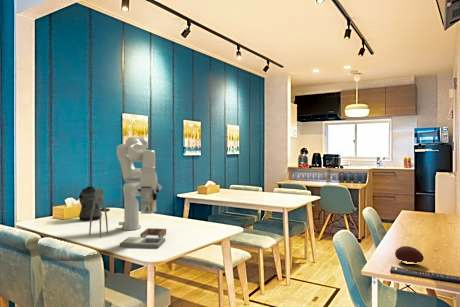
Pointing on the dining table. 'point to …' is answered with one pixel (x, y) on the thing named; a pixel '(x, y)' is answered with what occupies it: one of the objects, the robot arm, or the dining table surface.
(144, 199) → the coffee box
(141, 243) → the board
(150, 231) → the stall
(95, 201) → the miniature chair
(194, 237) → the dining table surface
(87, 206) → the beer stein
